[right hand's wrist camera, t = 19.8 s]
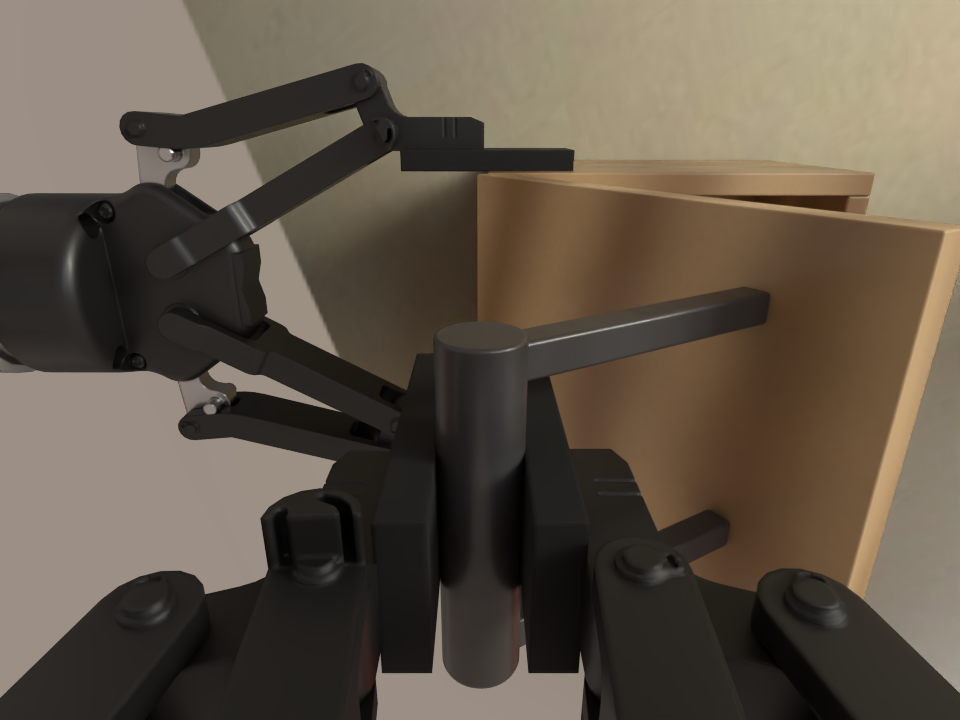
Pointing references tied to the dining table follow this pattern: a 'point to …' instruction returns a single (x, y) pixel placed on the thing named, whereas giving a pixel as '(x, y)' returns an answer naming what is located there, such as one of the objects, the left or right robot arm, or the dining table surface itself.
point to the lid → (682, 382)
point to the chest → (729, 181)
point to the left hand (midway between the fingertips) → (562, 285)
